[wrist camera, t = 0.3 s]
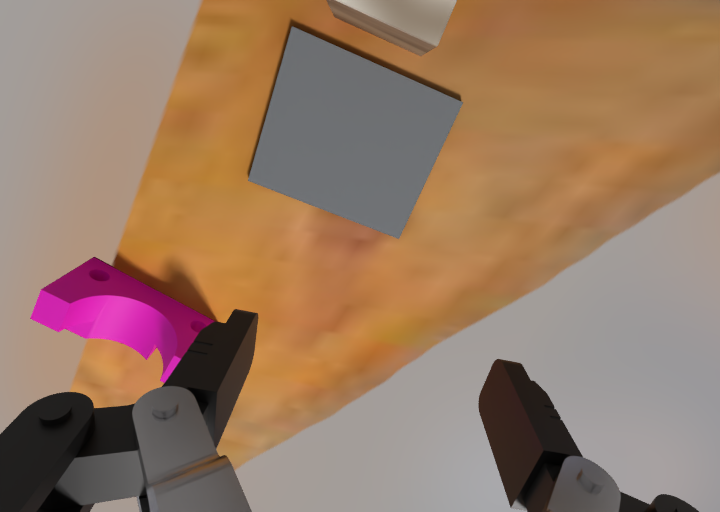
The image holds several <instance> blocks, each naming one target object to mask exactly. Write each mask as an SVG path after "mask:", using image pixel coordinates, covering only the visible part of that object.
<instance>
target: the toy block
mask: <svg viewBox="0 0 720 512" xmlns="http://www.w3.org/2000/svg"><path fill="white" fill-rule="evenodd" d="M31 319H32V320H34V321H36V322H38V323H41V324H43V325H45V326H47V327H49V328H51V329H53V330H55V331H57V332H60V331H61V330H63V329H67V330H69V331H71V332H73V333H75V334H77V335H79V336H81V337H83V338H86V339H87V338H100V339H108V340H113V341H117V342H120V343H123V344H125V345H127V346H129V347H131V348H133V349H135V350H136V351H137V352H139V353H140V354H141V355H142V356H143V357H144V358H145V359H146V360H147V359H148V358H149V356H150V355H151V354H152V353H153V351H154V350H155V349H156V348H158V350H159V351H160V354H161V356H162V359H163V373H162V377H161V379H160V381H162V382H164V383H165V382H166V380H167V379H168V377H169V376H170V374H171V373H172V372H173V370H174V369H175V367H176V366H177V364H178V363H179V361H180V360H181V358H182V357H183V356H184V354H185V353H186V352H187V350H188V348H189V347H190V345H191V344H192V343H193V342H194V340H195V338H196V337H197V335H198V334H199V332H200V331H201V330H202V329H203V328H205V327H206V326H208V325H209V324H211V323H213V322H214V320H212V319H210V318H208V317H206V316H204V315H202V314H200V313H199V312H197V311H195V310H193V309H191V308H189V307H187V306H185V305H183V304H181V303H180V302H178V301H176V300H174V299H172V298H170V297H168V296H166V295H164V294H162V293H161V292H159V291H157V290H155V289H153V288H151V287H149V286H147V285H145V284H144V283H142V282H140V281H138V280H136V279H134V278H132V277H130V276H128V275H126V274H125V273H123V272H121V271H119V270H117V269H115V268H113V267H112V266H111V265H109V264H108V263H106V262H104V261H102V260H100V259H98V258H96V257H93V258H92V259H90V260H88V261H87V262H85V263H83V264H82V265H80V266H79V267H77V268H75V269H74V270H72V271H70V272H69V273H67V274H66V275H64V276H62V277H61V278H59V279H57V280H56V281H54V282H52V283H51V284H49V285H48V286H46V287H44V288H43V289H41V291H40V294H39V297H38V299H37V302H36V305H35V307H34V310H33V313H32V315H31ZM215 322H216V321H215Z"/></svg>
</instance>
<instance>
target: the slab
mask: <svg viewBox="0 0 720 512" xmlns="http://www.w3.org/2000/svg"><path fill="white" fill-rule="evenodd" d="M456 1H457V0H327V2H328V4H329V7H330V9H331V11H332V13H333V15H334V17H336V18H338V19H340V20H342V21H344V22H346V23H349V24H351V25H353V26H355V27H357V28H360V29H362V30H364V31H366V32H368V33H371V34H373V35H375V36H377V37H379V38H382V39H384V40H386V41H388V42H390V43H393V44H395V45H397V46H399V47H401V48H404V49H406V50H408V51H410V52H412V53H415V54H417V55H419V56H422V55H424V54H425V53H427V52H429V51H430V50H432V49H433V48H435V47H437V46H438V44H439V41H440V39H441V37H442V34H443V32H444V30H445V27H446V25H447V22H448V20H449V18H450V15H451V13H452V11H453V8H454V6H455V4H456Z"/></svg>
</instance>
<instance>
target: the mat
mask: <svg viewBox="0 0 720 512" xmlns="http://www.w3.org/2000/svg"><path fill="white" fill-rule="evenodd" d="M462 104H463V102H461V101H459V100H456V99H454V98H452V97H450V96H447V95H445V94H443V93H441V92H438V91H436V90H434V89H432V88H429V87H427V86H425V85H423V84H421V83H418V82H416V81H414V80H412V79H409V78H407V77H405V76H403V75H400V74H398V73H396V72H394V71H391V70H389V69H387V68H385V67H382V66H380V65H378V64H376V63H373V62H371V61H369V60H367V59H364V58H362V57H360V56H358V55H355V54H353V53H351V52H349V51H346V50H344V49H342V48H340V47H338V46H335V45H333V44H331V43H329V42H326V41H324V40H322V39H320V38H317V37H315V36H313V35H311V34H308V33H306V32H304V31H302V30H299V29H297V28H295V27H293V26H292V28H291V31H290V35H289V38H288V42H287V45H286V49H285V53H284V56H283V60H282V63H281V67H280V70H279V74H278V77H277V81H276V84H275V88H274V91H273V95H272V98H271V102H270V105H269V109H268V112H267V116H266V119H265V123H264V126H263V130H262V133H261V137H260V140H259V144H258V147H257V151H256V154H255V158H254V161H253V165H252V168H251V172H250V175H249V179H248V181H250V182H253V183H255V184H258V185H261V186H263V187H266V188H268V189H271V190H274V191H276V192H279V193H281V194H284V195H286V196H289V197H292V198H294V199H297V200H299V201H302V202H305V203H307V204H310V205H312V206H315V207H318V208H320V209H323V210H325V211H328V212H331V213H333V214H336V215H338V216H341V217H343V218H346V219H349V220H351V221H354V222H356V223H359V224H362V225H364V226H367V227H369V228H372V229H375V230H377V231H380V232H382V233H385V234H388V235H390V236H393V237H395V238H398V239H399V238H400V235H401V233H402V231H403V229H404V227H405V225H406V223H407V221H408V218H409V216H410V214H411V212H412V210H413V208H414V206H415V204H416V201H417V199H418V197H419V195H420V193H421V191H422V189H423V187H424V184H425V182H426V180H427V178H428V176H429V174H430V172H431V170H432V167H433V165H434V163H435V161H436V159H437V157H438V155H439V153H440V150H441V148H442V146H443V144H444V142H445V140H446V138H447V136H448V133H449V131H450V129H451V127H452V125H453V123H454V121H455V119H456V116H457V114H458V112H459V110H460V108H461V106H462Z"/></svg>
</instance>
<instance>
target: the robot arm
mask: <svg viewBox="0 0 720 512" xmlns="http://www.w3.org/2000/svg"><path fill="white" fill-rule="evenodd" d="M257 324H258V313H253V312H248V311H243V310H237V309H235V310H234V311H233V312H232V314H231V316H230V317H229V319H228V320H227V322H226V323H221V322H215V321H214V322H213V323H211V324H209V325H208V326H206V327H205V328H203V329H202V330H201V331H200V332H199V334H198V335H197V337H196V338H195V340H194V342H193V343H192V344H191V345H190V347H189V348H188V350H187V352H186V353H185V354H184V356H183V357H182V358H181V360H180V361H179V363H178V364H177V366H176V367H175V369H174V370H173V372H172V373H171V374H170V376H169V377H168V379H167V380H166V382H165V383H164V385H163V386H162V387H160V388H157V389H154V390H151V391H149V392H148V393H146V394H144V395H143V396H142V397H140V399H139V400H138V401H137V402H136V403H135V404H131V405H127V406H118V407H106V408H94V406H93V402H92V400H91V399H90V398H89V397H87V396H86V395H84V394H81V393H76V392H64V393H57V394H53V395H50V396H47V397H44V398H42V399H40V400H38V401H36V402H34V403H33V404H31V405H30V406H28V407H27V408H26V409H25V410H23V411H22V412H21V414H19V416H18V417H17V418H16V419H15V420H14V421H13V422H12V423H11V424H10V425H9V426H8V427H7V428H6V429H5V430H4V431H3V432H2V433H1V434H0V512H90V510H91V509H92V507H93V505H94V504H95V503H99V502H105V501H111V500H117V499H124V498H130V497H136V496H137V501H138V506H139V511H140V512H252V511H251V509H250V507H249V504H248V502H247V499H246V497H245V495H244V492H243V490H242V488H241V485H240V483H239V481H238V478H237V476H236V474H235V471H234V469H233V466H232V464H231V462H230V460H229V459H228V457H227V456H225V455H224V456H221V457H220V456H219V455H218V453H217V451H216V448H217V446H218V444H219V441H220V439H221V436H222V434H223V432H224V429H225V427H226V425H227V422H228V420H229V418H230V415H231V413H232V410H233V408H234V406H235V403H236V401H237V399H238V396H239V394H240V392H241V389H242V387H243V384H244V382H245V380H246V377H247V375H248V373H249V370H250V367H251V364H252V360H253V356H254V350H255V341H256V332H257ZM479 412H480V416H481V419H482V422H483V424H484V428H485V431H486V434H487V437H488V440H489V443H490V446H491V449H492V452H493V455H494V458H495V461H496V464H497V467H498V470H499V473H500V476H501V479H502V482H503V485H504V489H505V492H506V495H507V497H508V500H509V504H510V507H511V508H514V509H520V510H527V512H699V511H698V510H696V509H695V508H694V507H692V506H691V505H690V504H688V503H686V502H685V501H683V500H681V499H679V498H677V497H674V496H671V495H666V494H661V495H658V496H657V497H656V498H655V499H654V500H653V502H652V503H651V504H650V505H649V504H647V503H645V502H642V501H640V500H638V499H636V498H633V497H631V496H629V495H627V494H624V493H622V492H620V491H619V488H618V486H617V484H616V483H615V481H614V480H613V479H612V477H611V476H610V475H609V474H608V473H607V472H606V471H605V470H604V469H602V468H601V467H600V466H598V465H597V464H595V463H594V462H592V461H590V460H588V459H586V458H583V456H582V455H581V453H580V451H579V450H578V448H577V446H576V444H575V442H574V440H573V439H572V437H571V435H570V434H569V432H568V430H567V428H566V427H565V425H564V423H563V421H562V420H560V416H559V414H558V412H557V410H556V409H554V405H553V403H552V402H551V400H550V398H549V396H548V395H547V393H546V392H545V391H544V390H543V389H542V388H541V387H540V386H539V385H538V384H537V383H536V382H535V381H531V380H530V378H529V377H528V375H527V373H526V371H525V369H524V367H523V366H522V364H520V363H517V362H511V361H506V360H501V359H497V360H495V362H494V363H493V365H492V367H491V370H490V372H489V375H488V377H487V379H486V381H485V384H484V386H483V388H482V390H481V393H480V396H479Z"/></svg>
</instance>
